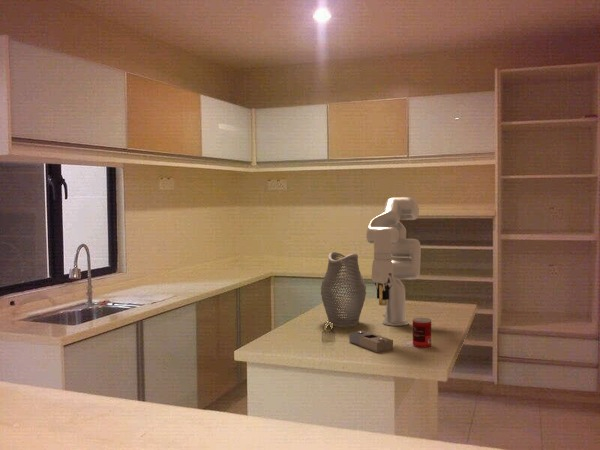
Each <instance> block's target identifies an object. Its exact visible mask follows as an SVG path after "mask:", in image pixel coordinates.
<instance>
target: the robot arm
mask: <svg viewBox="0 0 600 450" xmlns="http://www.w3.org/2000/svg"><path fill="white" fill-rule="evenodd" d="M419 215H420V207H419V205H418V203H417V201H416V200H415V199H414V198H413V197H410V196H402V197H397V196H394V197H390V198H388V199H387V200H386V201H385V203H384V207H383V210H382V213H381V214H379V215H377V216H376V217H374V218H372V219H371V220H370V222H369V223H368V227H367V230H366V237H365V238H366V241H367V242H368V243H369V244H372V245H373V261H372V264H371V265H372V267H371V280H372V282H373V284H374V285H375V289H376V299H378V300H379V283H381V284H383V290H384V291H382V299H383V300H387V305H385V312H384V313H383V314H382V317H383V318H384V319H383V320H382V324H384V325H385V326H392V327H401V326H403V327H404V326H407V325H408V324H409V320H407V319H406V288H405V287H406V286H405V285H404V283H403V282H402V280H417V279H418V278H420V275H421V256H422V253H421V251H422V249H421V242H420V240H419V239H416V238H407V229H406V227H405V225H403V223H402V222H401V221H408V220H409V221H414V220H417V219H418V218H419ZM392 258H396V259H392ZM397 258H398V259H397ZM402 258H403V259H402Z"/></svg>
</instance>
